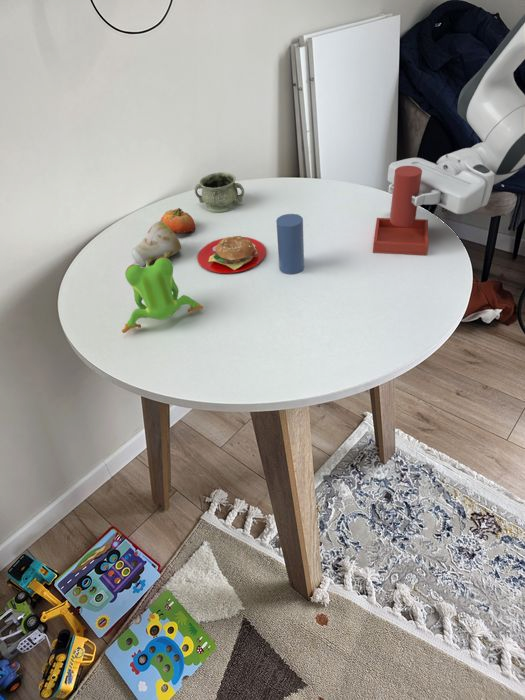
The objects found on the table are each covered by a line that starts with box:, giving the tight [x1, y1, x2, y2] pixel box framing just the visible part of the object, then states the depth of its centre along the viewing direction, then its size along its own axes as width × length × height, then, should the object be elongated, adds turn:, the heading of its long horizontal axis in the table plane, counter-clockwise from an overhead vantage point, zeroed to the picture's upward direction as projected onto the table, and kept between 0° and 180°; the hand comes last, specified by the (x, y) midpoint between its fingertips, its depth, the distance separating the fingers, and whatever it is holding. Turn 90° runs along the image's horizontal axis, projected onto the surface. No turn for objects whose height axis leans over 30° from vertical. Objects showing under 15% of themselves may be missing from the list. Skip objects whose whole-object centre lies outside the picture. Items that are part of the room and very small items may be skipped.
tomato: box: [160, 207, 196, 234], centre depth 108 cm, size 8×7×7 cm
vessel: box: [194, 171, 245, 213], centre depth 115 cm, size 12×9×6 cm
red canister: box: [389, 166, 422, 227], centre depth 92 cm, size 5×5×10 cm
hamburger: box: [197, 235, 267, 274], centre depth 97 cm, size 14×14×6 cm
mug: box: [130, 220, 182, 267], centre depth 99 cm, size 8×10×10 cm
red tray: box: [372, 217, 429, 256], centre depth 98 cm, size 10×10×2 cm
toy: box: [121, 257, 204, 334], centre depth 83 cm, size 14×9×10 cm, turn 112°
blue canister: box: [275, 213, 305, 275], centre depth 91 cm, size 5×5×10 cm
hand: (402, 195), depth 92 cm, fingers closed on red canister, 5 cm apart
